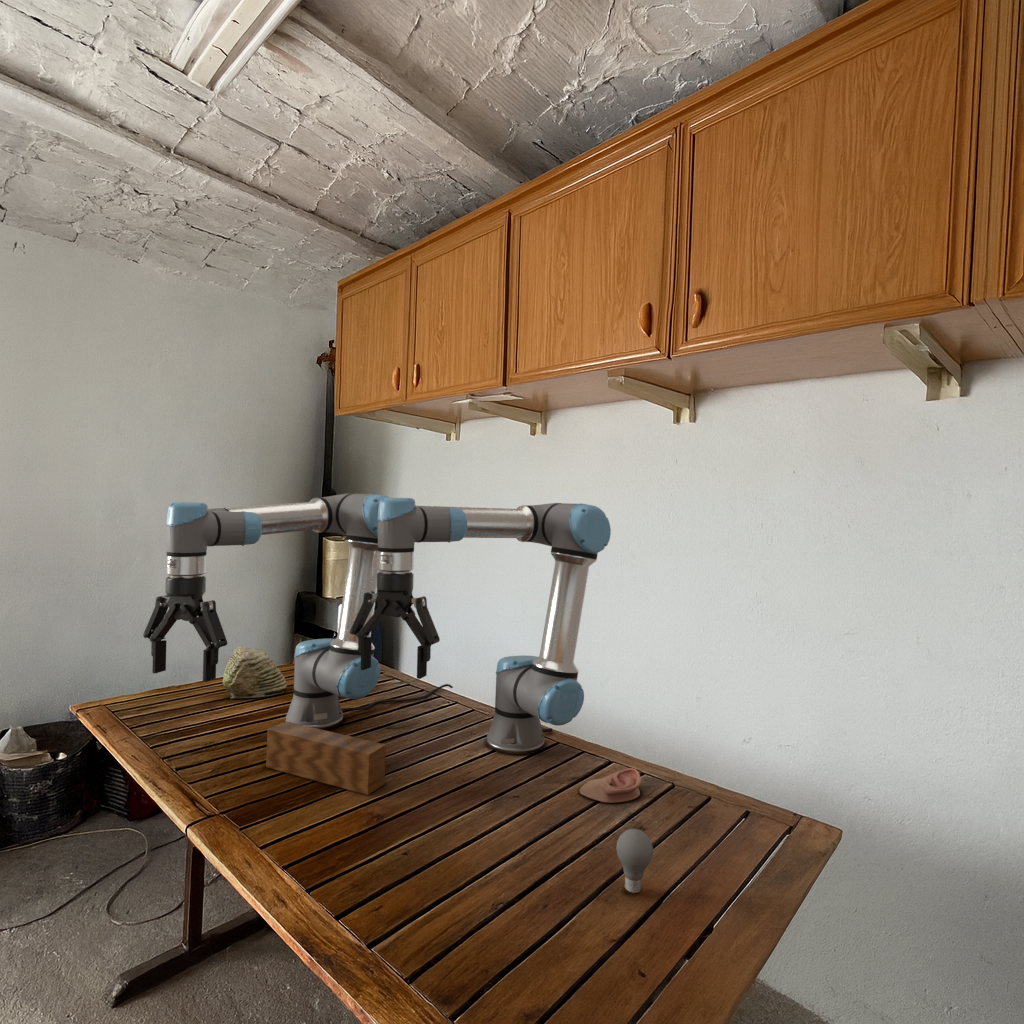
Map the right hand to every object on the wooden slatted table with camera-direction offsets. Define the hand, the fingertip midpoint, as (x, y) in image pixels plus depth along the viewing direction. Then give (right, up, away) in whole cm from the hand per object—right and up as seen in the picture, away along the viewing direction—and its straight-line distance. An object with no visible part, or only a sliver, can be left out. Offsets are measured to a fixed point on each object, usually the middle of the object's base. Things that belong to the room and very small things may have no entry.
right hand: (393, 672), depth 132 cm
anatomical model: (+47, -29, +9) cm, 56 cm away
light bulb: (+45, -30, -27) cm, 60 cm away
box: (-18, -26, +12) cm, 34 cm away
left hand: (-44, -1, +1) cm, 44 cm away
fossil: (-56, -24, +66) cm, 89 cm away
